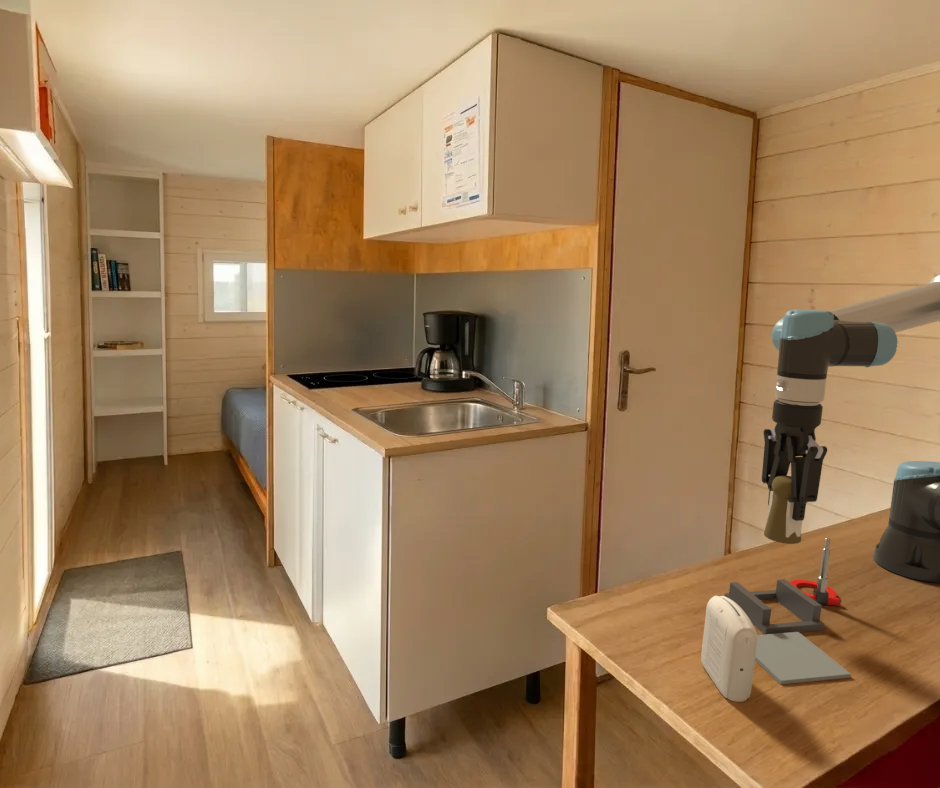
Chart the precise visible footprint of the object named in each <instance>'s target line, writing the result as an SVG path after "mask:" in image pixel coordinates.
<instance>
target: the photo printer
mask: <svg viewBox="0 0 940 788" xmlns="http://www.w3.org/2000/svg"><path fill="white" fill-rule="evenodd" d="M705 609H706V610H705V618H704V619H705V620H704V626H703V628H704V629H703V635H702V636H703V637H702V647H701V653H700V654H701V655H700V660H701V664H702V667H704V669H705V671H706V672H707V673H706V674H708V675H709V677H710V679H711V680H712V682H713V684H714V685H715V687H716V688H717V689H718V690H719V692H720V694H721V695H722V696H723V697H724V698H725V699H728V700H729V701H732V702H736V703H741V702H742V703H743V702H745V701H747V700H748V699H750V698H751V694H752V687H753V679H754V671H755V664H756V661H755V657H756V649H757V641H758V637H757V635H758V634H757V631H756V628H755V625H753V624H752V622H751V621H750V619H749V617H748V616H747V615H746V613H745V612H744V611H743V610H742V609H741V607H740V606H739V605H738V604H736V603H735V602H734V601H733V600H731V599H729V598H727V597H725V595H721V596H719V595H714V596H712V597H711V598H710V599H709V600H708V602H707V604H706V607H705Z"/></svg>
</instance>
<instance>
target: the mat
mask: <svg viewBox="0 0 940 788" xmlns="http://www.w3.org/2000/svg"><path fill="white" fill-rule="evenodd" d="M757 637H758V641H757V649H756V657H755V663H758V665H760V667H762V668H763V670H764V671H766V672H767V673H768V674H769V675H770V676H771V677H772V678H773V679H775V681H776V682H778V683H779V685H786V684H787V685H788V684H797V683H806V682H807V683H808V682H818V681H819V682H820V681H828V680H829V681H830V680H839V679H846V678H847V679H848V678H851V676H852V674H851V673H850V672H849V670H847V669H846V668H844V667H843V666H842V665H841V664H839V662H837V661H836V660H834V659H833V658H832V657H831V656H829V655H828V654H827V653H826V652H825V651H823V650H822V649H821V648H819V647H818V646H817V645H816V644H814V643H813V642H812V641H810V640H809V639H808V638H807V637H805V636H804V635H803V634H802V633H801V632H789V633H777V634H757Z"/></svg>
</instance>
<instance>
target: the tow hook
mask: <svg viewBox="0 0 940 788" xmlns="http://www.w3.org/2000/svg"><path fill="white" fill-rule="evenodd" d="M830 541H831V538H830V537H825V540H824V546H823V548H822V552H821V561H820V571H819V576H818V578H817V581H813V580H808V579H794V580H791V581H788V582H789V583H791V584H792V585H794V586H795V587H796V588H798V589H799V590H801V589H800V588H799V587H809V588H813V593H812V594H813V595H812V594H811V593H809V592H806V591H803V590H801V591H802V592H803V593H805V594H806V595H808V596H809V597H811V598H812V599H813V600H815V601H816V602H818V603H819V604H821V605H822V606H827V605H828V606H837V607H840V606H841V599H840V598H839V597H837V596H838V594H837V591H835V590H834V589H833V588H831V587H830V586H828V578H827V577H828V568H829V562H830V561H829V560H830V554H831V553H830V552H831V549H830V543H831V542H830Z"/></svg>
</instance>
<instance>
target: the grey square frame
mask: <svg viewBox="0 0 940 788" xmlns="http://www.w3.org/2000/svg"><path fill="white" fill-rule="evenodd" d="M789 582H790V581H788V580H787V579H785V578H781V579H780V578H779V579H777V580H776V588H775V589H772V590H757V591H749V590H748V589H747V588H746V587H744V586H743V585H742V584H741V583H739V582H738V581H736V582H733V581H732V582H730V583H729V590H728V593H727V592H726V593H724V596H725V597H727V598H729V599H731V600H733V601H734V602H735V603H736V604H738V605H739V606H740V607H741V609H742V610H743V611H744V612H745V613H746V615H747V616H748V617H749V619H750V621H751V622H752V624H753V626H754V627H756V629H758V630H759V631H760V632H761V633H763V635H765V634H777V633H789V632H799V633H804V632H807V633H808V632H815V631H824V630H825V623H824V622H823V621H822V620H821V613H822V607H823V605H821V604H819V603H818V602H816V601H815V600H813V599H812V598H811V597H809V596H808V595H806V594H805V593H803V592H802V591H803V590H801V589H800V588H799V587H797V588H796V587H795V586H794V585H792V584H791V583H789ZM799 589H800V590H799ZM764 600H766V601H767V600H775V601H777V602H778V603H780V604H781V605H782V606H783V607H784V608H786V609H787V610H788V611H790V612H791V613H792V614H793V615H795V616H796V617H798V618H799V619H800V620H801V621H793V622H792V621H791V622H781V623H780V622H779V623H778V622H777V623H771V615H772V608H771V607H770V606H768V605H767V604H766V603H764Z"/></svg>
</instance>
